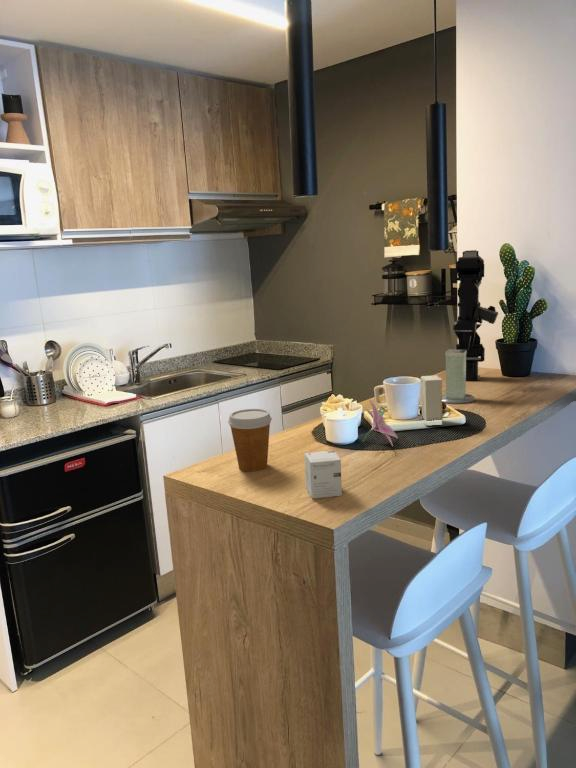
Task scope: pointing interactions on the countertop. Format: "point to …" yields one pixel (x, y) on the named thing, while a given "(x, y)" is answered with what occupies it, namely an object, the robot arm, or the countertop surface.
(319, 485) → the skincare box
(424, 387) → the skincare box
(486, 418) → the countertop surface
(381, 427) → the lily
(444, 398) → the slate coaster
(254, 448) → the disposable coffee cup
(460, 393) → the sage tea tin
